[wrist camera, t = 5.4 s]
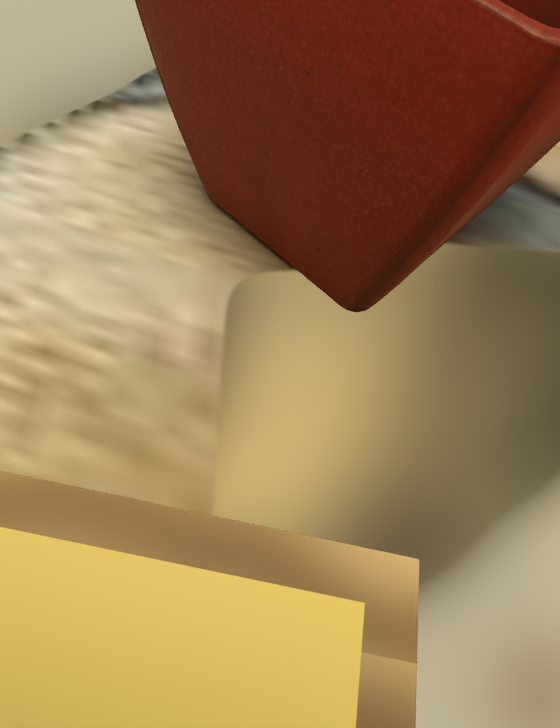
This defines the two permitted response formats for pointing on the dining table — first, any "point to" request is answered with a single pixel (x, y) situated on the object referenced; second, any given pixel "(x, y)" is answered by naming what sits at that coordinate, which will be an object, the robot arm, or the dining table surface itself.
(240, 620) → the yellow block
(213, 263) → the dining table surface
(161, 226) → the dining table surface
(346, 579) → the tan flat piece
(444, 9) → the plant pot
